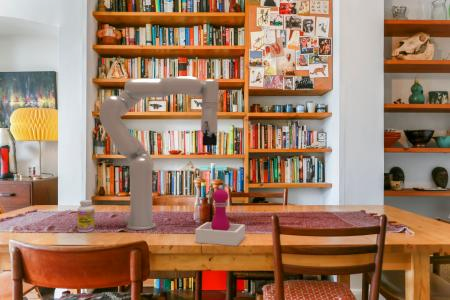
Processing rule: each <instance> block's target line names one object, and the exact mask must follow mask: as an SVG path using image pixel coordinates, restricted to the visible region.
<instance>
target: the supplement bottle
mask: <svg viewBox="0 0 450 300" xmlns="http://www.w3.org/2000/svg"><path fill="white" fill-rule="evenodd" d="M79 204H80V206H78V208H77V232H79V233H91V232H93V231H95V207H94V206H93V205H92V204H93V200H92V199H83V200H80V201H79Z"/></svg>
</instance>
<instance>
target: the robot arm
mask: <svg viewBox="0 0 450 300" xmlns="http://www.w3.org/2000/svg"><path fill="white" fill-rule="evenodd" d="M172 95H187V96H189V97H192V98H197V97H201V120H200V121H201V122H200V131H201V132H202V146H205V147H207V146H217V145H218V112H219V81H218V80H216V79H204V80H201V79H200V78H198V77H195V76H169V77H135V78H134V77H133V78H130V79H129V78H128V80H126V81H125V84H124V89H123V91H122V92H121V93H119V95H110V96H109V95H108V96H107V97H105V98H104V100H103V101H102V102H101V104H100V107H99V110H98V111H99V114H98V115H99V120H100V123H101V126H102V128H103V129H104V131H105V133H107V135H108V137H109V139H110V141H111V142H112V143H113V145H114V146H115V147H116V149H117V152H118V153H119V154H120V155H122V156H123V157H125V159H126V160H127V161H128V163H129V172H128V173H129V186H130V187H129V193H130V196H129V199H130V204H129V205H130V206H129V207H130V209H129V211H130V216H124V217H123V219H122V220H123V222H126V223H127V222H128V223H127V224H126V229H127V230H132V231H133V230H134V231H143V230H151V229H154V228H156V226H157V223H156V222H153V170H154V160H153V159H152V157H151V156H150V154H149V153H148V151H147V150H146V148H145V147H144V145H143V144H142V142H141V141H140V139H138V138H137V137H136V136H133V135H132V133H131V132H130V130H129V129H128V127H127V125H126V124H125V122H124V121H123V120H122V118H121V117H123V116H125V115H126V114H128V112H130V111H131V110H132V108H134V107H135V106H136V105H137V104H138V103H139V102H140V101H141V100H142V99H144V98H146V99H147V98H166V97H168V96H172Z"/></svg>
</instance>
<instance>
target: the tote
mask: <svg viewBox="0 0 450 300" xmlns="http://www.w3.org/2000/svg"><path fill="white" fill-rule="evenodd" d="M211 223H212V221H210V222H209V221H206V222H205V223H203V224H202V225H200V226H198V227H197V228H195V232H194V233H195V234H194V236H195V240H194V242H195V244H197V243H198V244H207V245H208V244H209V245H220V246H221V245H222V246H233V247H237V246H238V245H239V244H240V243H241V242H242V241H243V240H244V239H245V238H246V224H241V223H230V228H229V229H228V230H227V231H222V230H213V229H212V228H211Z"/></svg>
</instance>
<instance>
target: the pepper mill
mask: <svg viewBox="0 0 450 300" xmlns="http://www.w3.org/2000/svg"><path fill="white" fill-rule="evenodd" d="M212 199H213V201H214V204H213V206H214V208H215V209H214V210H215V211H214V216H213V218H212V220H211V222H212V223H211V228H212V229H213V230H222V231H227V230H228V229H229V228H230V224H231V223H230V221H229V218H228V215H227V212H226V211H227V210H226V209H227V206H228V202H227V200H228V199H229V193H228V192H227V190H225V189H224V187H223V185H221V184H220V185H218V189H216V190H215V191H213V194H212Z"/></svg>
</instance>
